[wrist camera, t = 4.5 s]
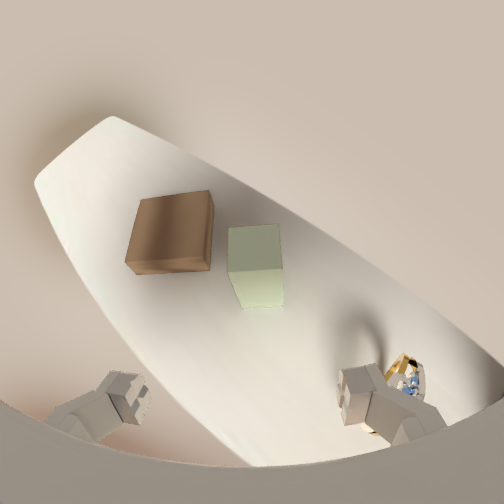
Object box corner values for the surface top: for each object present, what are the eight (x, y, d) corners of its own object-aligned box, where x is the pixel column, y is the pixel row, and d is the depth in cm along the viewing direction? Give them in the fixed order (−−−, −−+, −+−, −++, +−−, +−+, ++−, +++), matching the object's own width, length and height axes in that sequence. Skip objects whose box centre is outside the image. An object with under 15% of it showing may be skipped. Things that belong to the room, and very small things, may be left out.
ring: (380, 357, 22) (416, 337, 15) (404, 372, 21) (447, 357, 14) (340, 419, 20) (365, 427, 13) (366, 434, 19) (401, 446, 12)
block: (280, 269, 28) (278, 223, 21) (283, 306, 26) (282, 268, 19) (242, 272, 29) (228, 227, 22) (242, 308, 27) (227, 272, 20)
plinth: (214, 206, 34) (208, 190, 31) (209, 270, 29) (202, 256, 27) (149, 214, 34) (140, 199, 32) (136, 274, 30) (124, 262, 27)
